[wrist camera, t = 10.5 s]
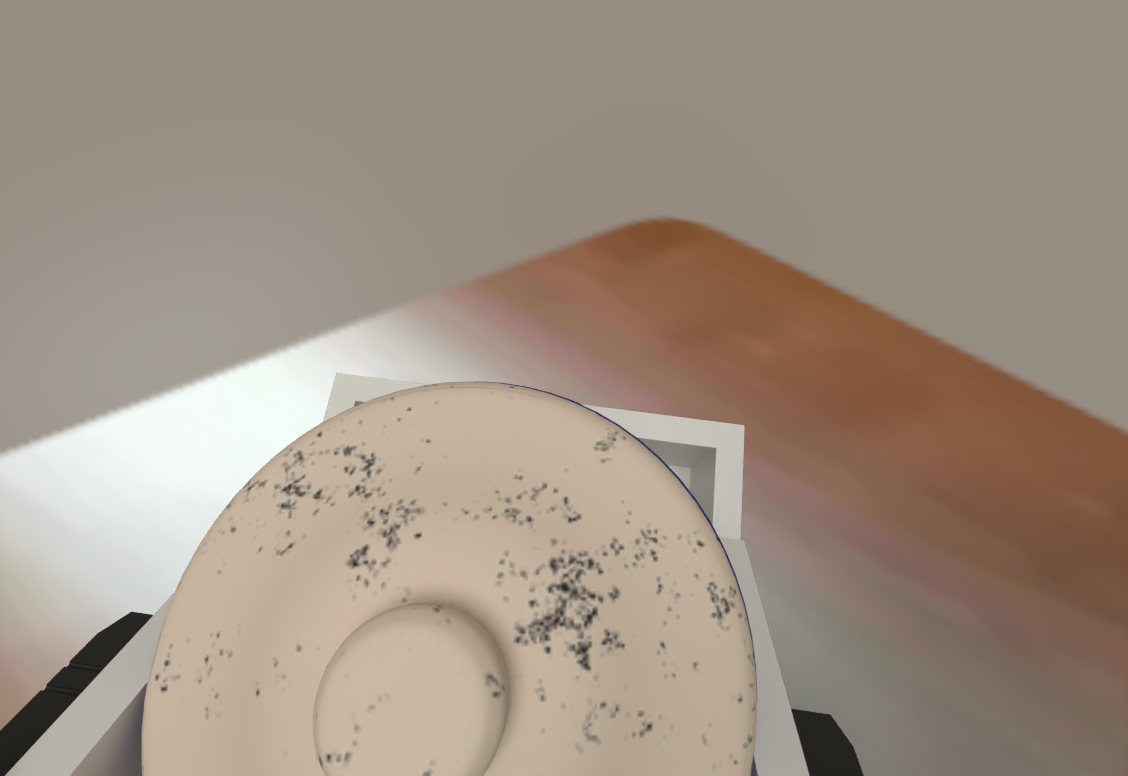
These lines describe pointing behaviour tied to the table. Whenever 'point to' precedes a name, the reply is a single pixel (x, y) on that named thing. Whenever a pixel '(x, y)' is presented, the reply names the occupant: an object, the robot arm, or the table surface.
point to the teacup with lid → (457, 606)
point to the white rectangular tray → (684, 444)
